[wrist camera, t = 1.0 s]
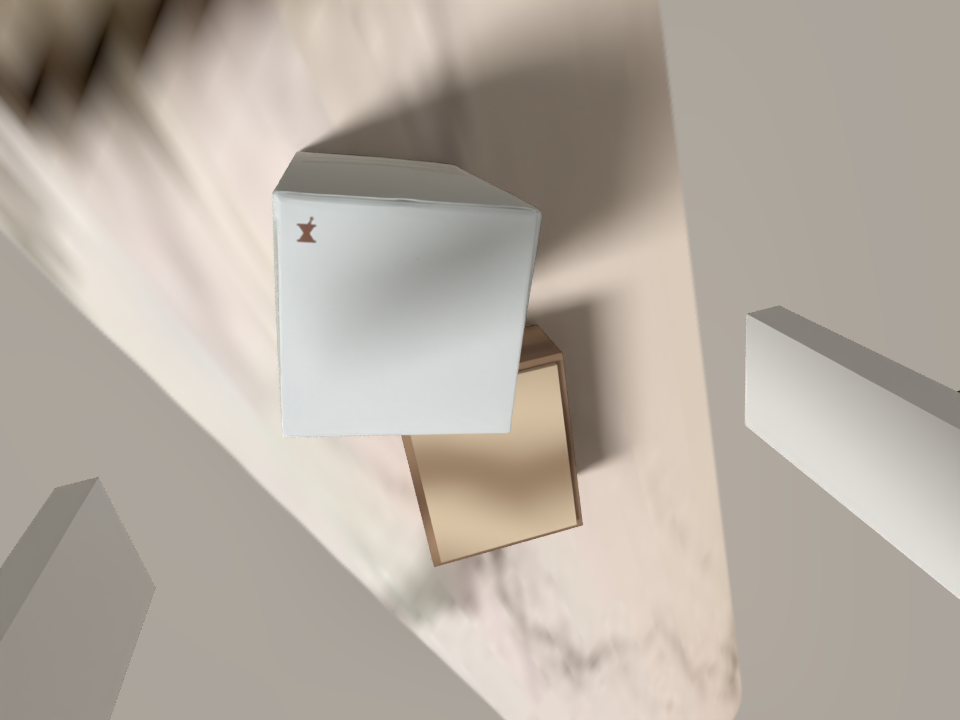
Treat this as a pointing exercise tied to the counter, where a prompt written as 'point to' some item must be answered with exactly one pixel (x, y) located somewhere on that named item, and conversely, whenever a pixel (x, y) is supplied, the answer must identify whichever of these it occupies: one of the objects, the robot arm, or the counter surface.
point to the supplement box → (398, 297)
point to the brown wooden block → (502, 468)
